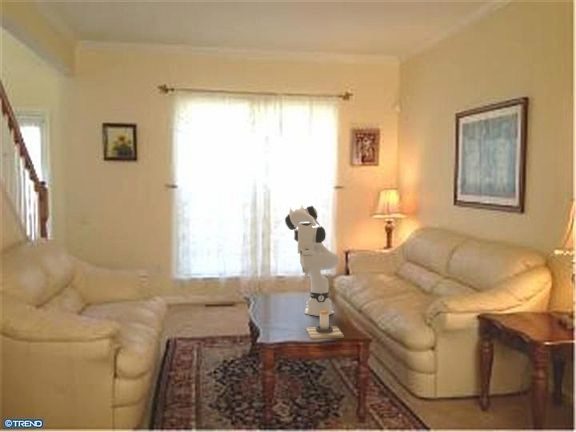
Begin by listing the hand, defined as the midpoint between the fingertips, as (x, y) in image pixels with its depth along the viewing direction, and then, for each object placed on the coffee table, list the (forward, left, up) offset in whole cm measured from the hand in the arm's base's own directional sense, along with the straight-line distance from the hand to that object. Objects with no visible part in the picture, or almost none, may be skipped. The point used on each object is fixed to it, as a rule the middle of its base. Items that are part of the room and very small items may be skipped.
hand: (305, 274), depth 302 cm
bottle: (+13, +9, -30) cm, 34 cm away
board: (+13, +9, -31) cm, 35 cm away
